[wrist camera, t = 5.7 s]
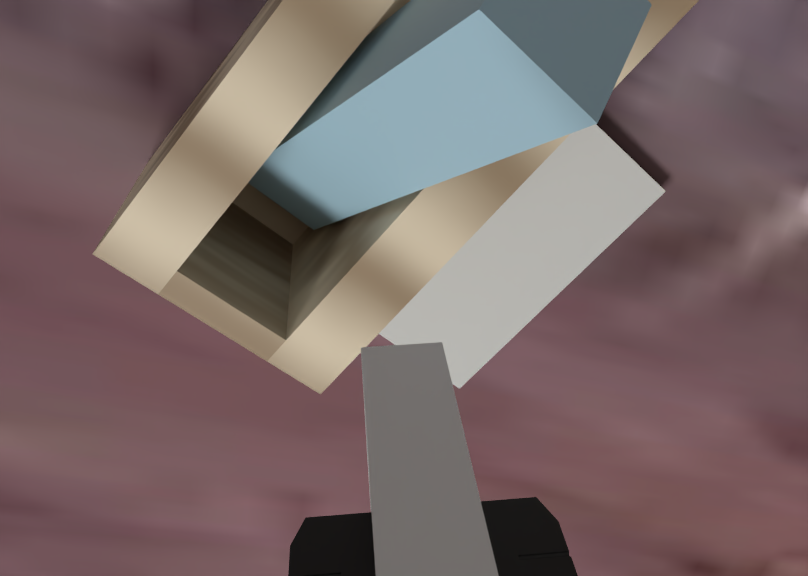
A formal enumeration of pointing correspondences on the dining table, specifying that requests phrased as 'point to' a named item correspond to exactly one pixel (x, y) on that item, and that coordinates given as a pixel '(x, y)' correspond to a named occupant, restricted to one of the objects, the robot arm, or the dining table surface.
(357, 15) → the jig
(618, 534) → the dining table surface
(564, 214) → the mat
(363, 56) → the bar
